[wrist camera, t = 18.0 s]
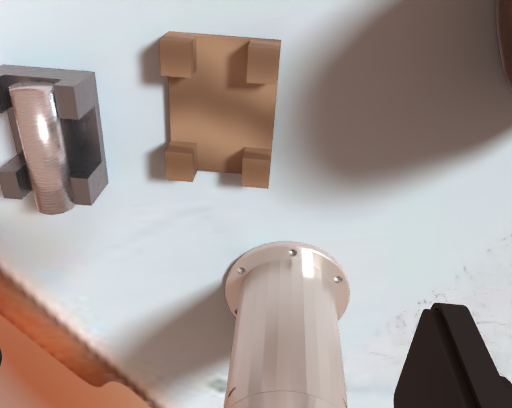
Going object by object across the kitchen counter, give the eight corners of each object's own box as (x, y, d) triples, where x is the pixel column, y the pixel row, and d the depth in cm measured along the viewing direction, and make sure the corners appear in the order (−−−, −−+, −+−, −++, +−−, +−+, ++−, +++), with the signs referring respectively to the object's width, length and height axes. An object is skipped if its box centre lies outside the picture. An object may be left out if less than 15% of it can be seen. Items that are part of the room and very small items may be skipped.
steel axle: (75, 194, 39) (75, 211, 37) (38, 198, 38) (35, 216, 36) (55, 79, 34) (53, 92, 32) (11, 81, 33) (5, 93, 31)
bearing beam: (269, 171, 39) (268, 188, 37) (174, 163, 39) (165, 179, 37) (281, 40, 33) (280, 49, 31) (169, 31, 34) (159, 39, 31)
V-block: (108, 182, 41) (91, 205, 37) (28, 175, 41) (4, 197, 38) (94, 71, 36) (73, 86, 32) (2, 64, 36) (-28, 78, 32)
